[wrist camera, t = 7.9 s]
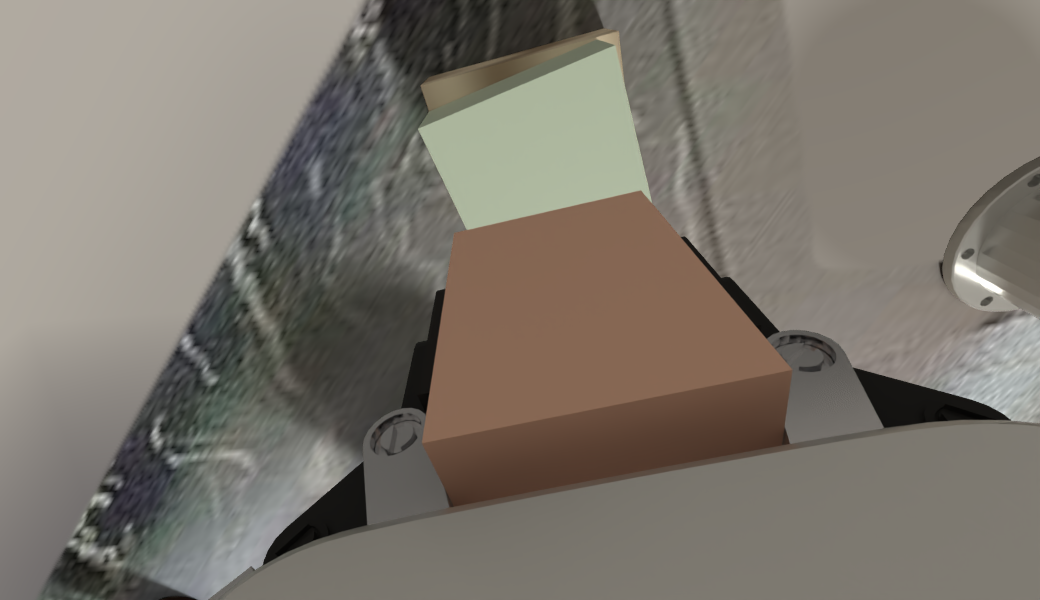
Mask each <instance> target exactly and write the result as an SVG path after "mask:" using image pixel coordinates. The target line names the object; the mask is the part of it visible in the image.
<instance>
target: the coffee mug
mask: <svg viewBox="0 0 1040 600" xmlns="http://www.w3.org/2000/svg"><path fill="white" fill-rule="evenodd" d="M160 600H196V599H192V598H187V597H179V596H173V597H166V598H162V599H160Z"/></svg>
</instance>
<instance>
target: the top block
mask: <svg viewBox="0 0 1040 600" xmlns="http://www.w3.org/2000/svg"><path fill="white" fill-rule="evenodd" d="M418 130H419V132H420V134H421V136H422V138H423V140H424V142H425V144H426V147H427V149H428V151H429V153H430V155H431V157H432V159H433V161H434V163H435V165H436V167H437V169H438V171H439V173H440V175H441V177H442V179H443V182H444V184H445V186H446V188H447V190H448V192H449V194H450V196H451V198H452V200H453V202H454V204H455V206H456V208H457V210H458V212H459V214H460V217H461V219H462V221H463V223H464V225H465V227H466V229H467V230H469V229H474V228H478V227H483V226H487V225H491V224H496V223H500V222H504V221H509V220H513V219H518V218H522V217H526V216H531V215H535V214H539V213H544V212H548V211H553V210H557V209H561V208H566V207H570V206H574V205H579V204H583V203H587V202H592V201H596V200H601V199H605V198H609V197H614V196H618V195H622V194H627V193H631V192H636V191H640V190H641V191H642V192H643V193H644V195H645V196H646V197H647V198H648V199H649V200H650V202H651V203H652V201H651V196H650V192H649V188H648V184H647V179H646V175H645V171H644V166H643V162H642V158H641V153H640V149H639V145H638V141H637V136H636V132H635V128H634V123H633V119H632V115H631V111H630V106H629V102H628V98H627V93H626V89H625V85H624V81H623V76H622V72H621V68H620V63H619V59H618V55H617V50H616V46H615V45H613V44H610V43H607V42H604V41H601V40H594V41H592V42H590V43H587V44H585V45H583V46H580V47H578V48H576V49H573V50H571V51H569V52H566V53H564V54H562V55H559V56H557V57H555V58H552V59H550V60H548V61H545V62H543V63H541V64H539V65H536V66H534V67H532V68H529V69H527V70H525V71H522V72H520V73H518V74H515V75H513V76H511V77H508V78H506V79H504V80H501V81H499V82H497V83H494V84H492V85H490V86H487V87H485V88H483V89H480V90H478V91H476V92H473V93H471V94H469V95H466V96H464V97H462V98H459V99H457V100H455V101H452V102H450V103H448V104H445V105H443V106H441V107H439V108H436V109H434V110H432V111H429V112H428V114H427V116H426V117H425V119H424V120H423V122H422V123H421V125H420V127H419V128H418Z"/></svg>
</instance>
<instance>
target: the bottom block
mask: <svg viewBox="0 0 1040 600" xmlns="http://www.w3.org/2000/svg"><path fill="white" fill-rule="evenodd" d="M594 40H601V41H604V42H607V43H610V44H613V45H615V46H616V50H617V55H618V59H619V63H620V68H621V72H622V76H623V68H622V58H621V49H620V40H619V31H616V30H610V29H600V30H596V31H593V32H589V33H586V34H582V35H578V36H575V37H571V38H568V39H564V40H560V41H557V42H553V43H550V44H546V45H542V46H539V47H535V48H532V49H528V50H524V51H521V52H517V53H514V54H510V55H507V56H503V57H499V58H496V59H492V60H489V61H485V62H481V63H478V64H474V65H471V66H467V67H463V68H460V69H456V70H453V71H449V72H445V73H442V74H438V75H435V76H431V77H429V78H428V79H427V80H426V81H425V82H424V83H423V84H422V85H421V89H422V92H423V95H424V98H425V101H426V104H427V107H428V110H429V111H432V110H434V109H436V108H439V107H441V106H443V105H445V104H448V103H450V102H452V101H455V100H457V99H459V98H462V97H464V96H466V95H469V94H471V93H473V92H476V91H478V90H480V89H483V88H485V87H487V86H490V85H492V84H494V83H497V82H499V81H501V80H504V79H506V78H508V77H511V76H513V75H515V74H518V73H520V72H522V71H525V70H527V69H529V68H532V67H534V66H536V65H539V64H541V63H543V62H545V61H548V60H550V59H552V58H555V57H557V56H559V55H562V54H564V53H566V52H569V51H571V50H573V49H576V48H578V47H580V46H583V45H585V44H587V43H590V42H592V41H594ZM623 81H624V77H623Z"/></svg>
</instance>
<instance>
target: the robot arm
mask: <svg viewBox="0 0 1040 600" xmlns="http://www.w3.org/2000/svg"><path fill="white" fill-rule="evenodd" d="M681 238H682V240H683V241H684V242H685V243H686V244H687V245H688V247H689V248H690V249H691V250H692V251H693V253H694V254H695V255H696V256H697V257H698V258H699V260H700V261H701V262H702V263H703V264H704V266H705V267H706V268H707V269H708V270H709V271H710V273H711V274H712V275H713V276H714V277H715V279H716V280H717V281H718V282H719V283H720V285H721V286H722V287H723V288H724V289H725V290H726V292H727V293H728V294H729V295H730V296H731V298H732V299H733V300H734V301H735V302H736V303H737V305H738V306H739V307H740V308H741V309H742V311H743V312H744V313H745V314H746V315H747V316H748V318H749V319H750V320H751V321H752V322H753V324H754V325H755V326H756V327H757V328H758V329H759V331H760V332H761V333H762V334H763V335H764V337H765V338H766V339H767V340H768V341H769V343H770V344H771V345H772V346H773V347H774V348H775V350H776V351H777V352H778V353H779V354H780V356H781V357H782V358H783V359H784V360H785V361H786V363H787V364H788V365H789V366H790V367H791V369H792V377H791V385H790V392H789V399H788V406H787V413H786V420H785V427H784V434H783V441H782V445H781V446H776V447H770V448H765V449H759V450H754V451H748V452H743V453H737V454H732V455H726V456H721V457H715V458H710V459H704V460H699V461H693V462H688V463H682V464H677V465H672V466H666V467H661V468H655V469H650V470H645V471H639V472H634V473H629V474H623V475H618V476H613V477H607V478H602V479H597V480H591V481H586V482H581V483H575V484H570V485H565V486H559V487H554V488H549V489H544V490H538V491H533V492H528V493H523V494H518V495H512V496H507V497H502V498H497V499H492V500H486V501H481V502H476V503H471V504H466V505H460V506H455V507H454V506H453V504H452V502H451V500H450V498H449V496H448V494H447V492H446V490H445V488H444V486H443V484H442V482H441V480H440V478H439V476H438V474H437V472H436V470H435V468H434V466H433V464H432V462H431V460H430V458H429V456H428V455H427V453H426V451H425V449H424V447H423V445H422V439H423V432H424V426H425V419H426V413H427V406H428V400H429V393H430V387H431V380H432V374H433V367H434V361H435V354H436V348H437V342H438V335H439V329H440V322H441V316H442V309H443V303H444V296H445V290H446V289H443V290H439V291H437V292H436V296H435V302H434V307H433V312H432V318H431V323H430V329H429V334H428V340H427V341H423V342H418V343H417V344H416V345H415V348H414V353H413V358H412V362H411V367H410V371H409V376H408V381H407V385H406V390H405V394H404V399H403V404H402V408H401V409H399V410H395V411H392V412H390V413H388V414H386V415H385V416H383V417H382V418H380V419H379V420H378V421H376V422H375V423H374V424H373V425H372V427H371V428H370V429H369V430H368V432H367V434H366V436H365V438H364V442H363V462H362V463H361V464H360V465H359V466H357V467H356V468H355V469H354V470H353V471H352V472H350V473H349V474H348V475H347V476H346V477H345V478H344V479H342V480H341V481H340V482H339V483H338V484H337V485H335V486H334V487H333V488H332V489H331V490H330V491H328V492H327V493H326V494H325V495H324V496H323V497H321V498H320V499H319V500H318V501H317V502H316V503H315V504H313V505H312V506H311V507H310V508H309V509H308V510H306V511H305V512H304V513H303V514H302V515H301V516H299V517H298V518H297V519H296V520H295V521H294V522H293V523H291V524H290V525H289V526H288V527H287V528H286V529H285V530H284V531H283V532H282V533H281V534H280V535H279V536H278V537H277V538H276V539H275V541H274V542H273V544H272V545H271V547H270V548H269V550H268V552H267V554H266V557H265V559H264V562H263V565H262V566H261V567H259V568H258V569H256V570H255V569H253V568H252V567H250V568H248V569H247V570H246V571H245V572H243V573H242V574H241V575H239V576H238V577H237V578H236V579H234V580H233V581H232V582H230V583H229V584H228V585H227V586H225V587H224V588H223V589H221V590H220V591H219V592H217V593H216V594H215V595H214V596H212V597H211V598H210V599H208V600H1040V423H1030V422H1020V421H1011V420H1010V419H1009V418H1007V417H1006V416H1005V415H1004V414H1002V413H1000V412H999V411H997V410H995V409H993V408H991V407H989V406H987V405H985V404H982V403H979V402H976V401H973V400H970V399H967V398H963V397H959V396H956V395H952V394H948V393H945V392H941V391H937V390H934V389H930V388H926V387H923V386H919V385H915V384H912V383H908V382H904V381H901V380H897V379H893V378H889V377H886V376H882V375H878V374H875V373H871V372H867V371H864V370H860V369H856V368H853V367H852V365H851V363H850V361H849V359H848V358H847V356H846V354H845V352H844V351H843V349H842V348H841V347H840V346H839V344H837V343H836V342H834V341H833V340H832V339H830V338H828V337H826V336H823V335H821V334H818V333H814V332H810V331H804V330H788V331H781V332H779V331H778V329H777V328H776V327H775V326H774V325H773V324H772V323H771V322H770V321H769V319H768V318H767V317H766V316H765V315H764V314H763V313H762V312H761V311H760V309H759V308H758V307H757V306H756V305H755V304H754V303H753V302H752V301H751V299H750V298H749V297H748V296H747V295H746V294H745V293H744V292H743V291H742V289H741V288H740V287H739V286H738V285H737V284H736V283H735V282H734V281H733V280H732V279H731V278H730V277H724V278H721V277H720V276H719V275H718V274H717V273H716V271H715V270H714V269H713V268H712V267H711V266H710V264H709V263H708V262H707V261H706V260H705V259H704V257H703V256H702V255H701V254H700V253H699V252H698V251H697V249H696V248H695V247H694V246H693V245H692V244H691V242H690V241H689V240H688V239H687V238H686V237H681ZM942 270H943V280H944V282H945V284H946V286H947V289H948V290H949V291H950V292H951V293H952V294H953V295H954V296H955V297H956V298H957V299H959V300H961V301H962V302H964V303H965V304H967V305H969V306H971V307H973V308H976V309H979V310H984V311H992V312H997V311H1011V310H1016V309H1022V310H1024V311H1026V312H1027V313H1029V314H1031V315H1033V316H1034V317H1036V318H1038V319H1040V157H1038V158H1036V159H1034V160H1032V161H1030V162H1028V163H1026V164H1024V165H1023V166H1021V167H1020V168H1018V169H1016V170H1015V171H1014V172H1012V173H1010V174H1009V175H1007V176H1006V177H1004V178H1003V179H1002V180H1000V181H999V182H998V183H997V184H996V185H994V186H993V187H992V188H991V189H990V190H988V191H987V192H986V193H985V194H984V195H983V196H982V197H981V198H980V199H979V200H978V201H977V202H976V203H975V204H974V205H973V206H972V207H971V208H970V210H969V211H968V212H967V214H966V215H965V216H964V217H963V219H962V220H961V221H960V223H959V224H958V226H957V228H956V229H955V231H954V233H953V235H952V237H951V238H950V240H949V243H948V246H947V248H946V251H945V254H944V260H943V266H942Z"/></svg>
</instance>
